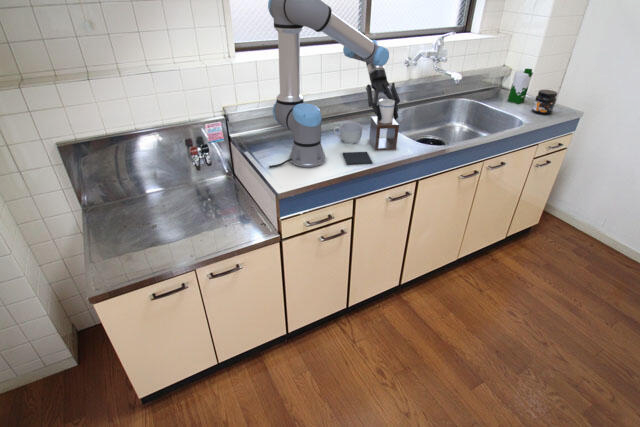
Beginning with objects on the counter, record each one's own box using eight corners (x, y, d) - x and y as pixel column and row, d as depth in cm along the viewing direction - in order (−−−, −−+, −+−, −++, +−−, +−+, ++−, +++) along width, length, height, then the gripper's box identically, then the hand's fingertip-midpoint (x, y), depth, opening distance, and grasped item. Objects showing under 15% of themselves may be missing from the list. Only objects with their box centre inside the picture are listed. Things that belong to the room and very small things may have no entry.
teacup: (361, 137, 190) (362, 122, 186) (361, 146, 181) (362, 130, 177) (333, 136, 191) (333, 120, 187) (331, 145, 182) (332, 129, 178)
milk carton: (519, 104, 236) (529, 71, 225) (505, 101, 242) (514, 68, 231) (526, 102, 241) (536, 68, 230) (512, 98, 247) (521, 66, 236)
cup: (378, 123, 173) (380, 103, 168) (375, 118, 179) (376, 98, 174) (394, 123, 174) (397, 103, 169) (390, 117, 180) (392, 98, 175)
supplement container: (528, 112, 225) (534, 91, 218) (536, 108, 231) (542, 88, 224) (547, 116, 218) (554, 95, 211) (554, 112, 224) (561, 92, 217)
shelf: (374, 150, 177) (377, 125, 171) (369, 140, 187) (371, 116, 181) (395, 149, 178) (399, 124, 172) (389, 139, 188) (391, 115, 182)
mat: (347, 165, 165) (347, 163, 164) (342, 154, 174) (342, 152, 173) (372, 163, 166) (372, 162, 165) (366, 153, 175) (366, 151, 174)
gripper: (393, 76, 183) (405, 120, 179) (354, 79, 178) (364, 124, 174) (400, 67, 175) (412, 113, 171) (359, 69, 170) (370, 117, 166)
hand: (388, 119), depth 172 cm, fingers closed on cup, 7 cm apart
